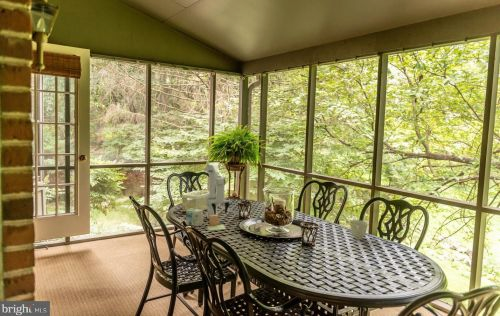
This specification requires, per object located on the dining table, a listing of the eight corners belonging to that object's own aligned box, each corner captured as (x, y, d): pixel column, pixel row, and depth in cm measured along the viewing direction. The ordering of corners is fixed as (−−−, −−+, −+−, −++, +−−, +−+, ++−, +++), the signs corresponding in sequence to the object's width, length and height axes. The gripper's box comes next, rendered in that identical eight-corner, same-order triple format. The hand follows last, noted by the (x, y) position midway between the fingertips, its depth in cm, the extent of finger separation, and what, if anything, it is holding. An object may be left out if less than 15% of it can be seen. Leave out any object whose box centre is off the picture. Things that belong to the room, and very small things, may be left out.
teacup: (347, 241, 220) (347, 225, 219) (349, 234, 234) (349, 219, 233) (367, 243, 216) (368, 227, 215) (368, 236, 230) (368, 221, 229)
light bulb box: (186, 224, 255) (185, 210, 254) (190, 222, 261) (190, 208, 260) (198, 226, 251) (198, 211, 250) (203, 223, 257) (203, 209, 256)
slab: (209, 224, 255) (209, 215, 254) (217, 224, 257) (217, 214, 256) (210, 225, 252) (210, 216, 251) (218, 225, 254) (218, 215, 253)
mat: (206, 226, 250) (206, 226, 250) (222, 225, 254) (222, 224, 254) (209, 230, 241) (209, 230, 240) (226, 229, 244) (226, 228, 244)
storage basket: (198, 205, 313) (198, 189, 311) (213, 207, 305) (213, 191, 303) (180, 211, 292) (180, 194, 291) (196, 214, 284) (196, 196, 283)
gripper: (211, 196, 239) (211, 215, 241) (231, 195, 243) (231, 214, 245) (209, 194, 246) (209, 213, 247) (229, 193, 250) (229, 211, 252)
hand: (220, 213), depth 246 cm, fingers open, 7 cm apart
